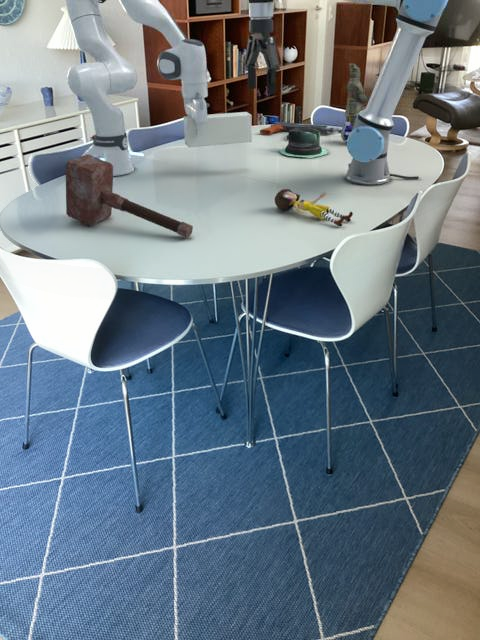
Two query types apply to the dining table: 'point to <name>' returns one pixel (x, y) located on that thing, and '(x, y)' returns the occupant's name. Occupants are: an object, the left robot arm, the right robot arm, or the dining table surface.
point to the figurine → (308, 206)
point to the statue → (354, 95)
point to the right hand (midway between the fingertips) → (261, 91)
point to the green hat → (304, 143)
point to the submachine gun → (291, 126)
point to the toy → (346, 130)
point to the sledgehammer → (105, 196)
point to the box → (219, 129)
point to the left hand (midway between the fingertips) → (196, 132)
